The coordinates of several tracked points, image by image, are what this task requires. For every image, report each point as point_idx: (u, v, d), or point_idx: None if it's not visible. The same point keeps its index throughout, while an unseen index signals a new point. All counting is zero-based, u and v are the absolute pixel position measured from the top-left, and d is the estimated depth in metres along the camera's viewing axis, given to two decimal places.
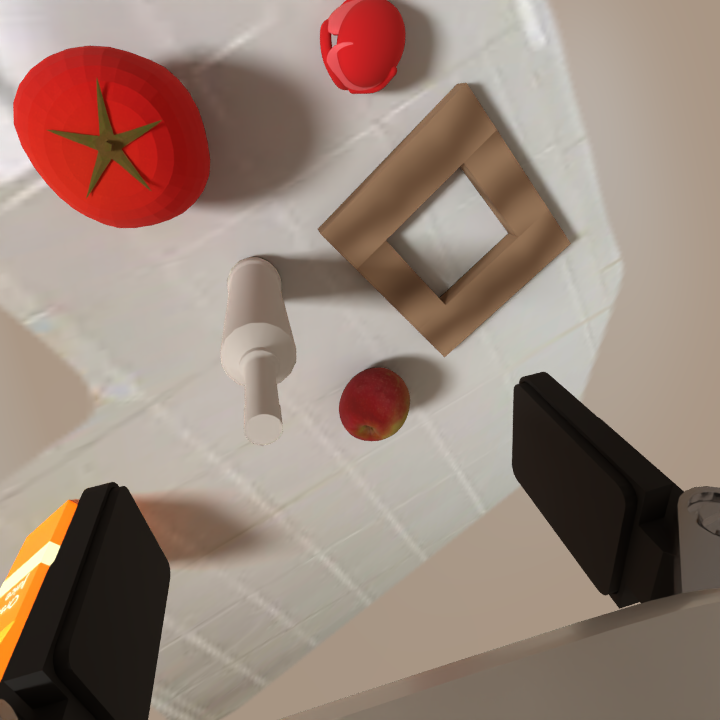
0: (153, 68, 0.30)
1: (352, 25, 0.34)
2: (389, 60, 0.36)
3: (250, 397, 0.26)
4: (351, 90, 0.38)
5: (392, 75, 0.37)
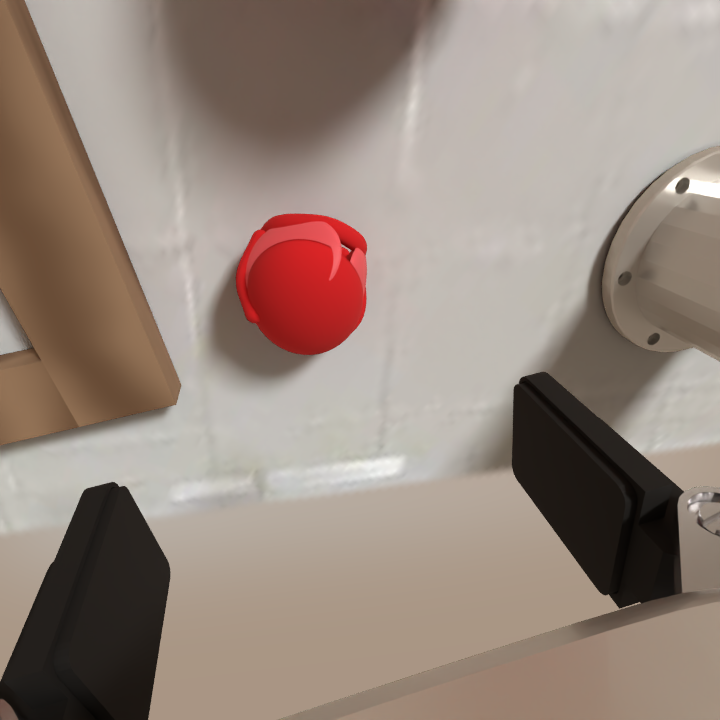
0: None
1: (349, 290, 0.20)
2: (272, 320, 0.20)
3: None
4: (259, 234, 0.21)
5: (247, 312, 0.21)
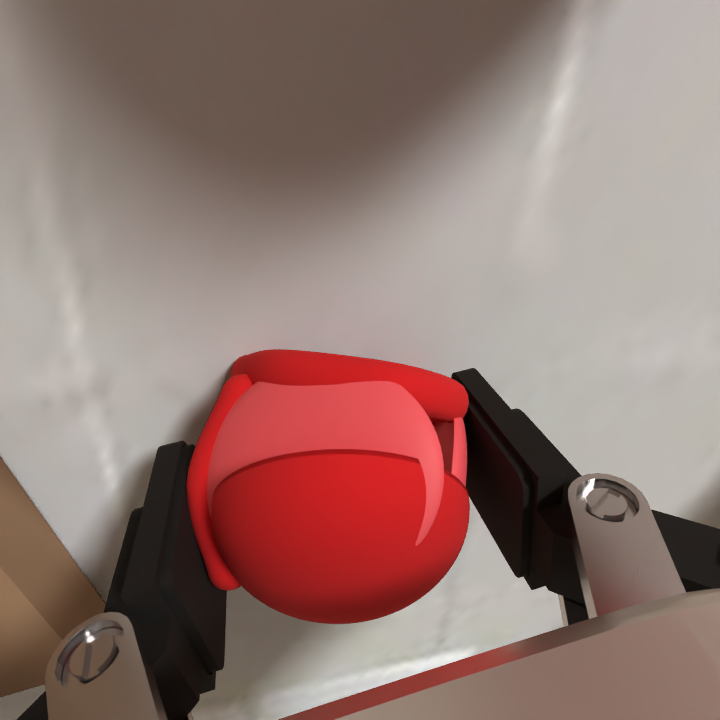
0: None
1: (453, 542, 0.08)
2: (269, 602, 0.09)
3: None
4: (238, 390, 0.09)
5: (212, 574, 0.09)
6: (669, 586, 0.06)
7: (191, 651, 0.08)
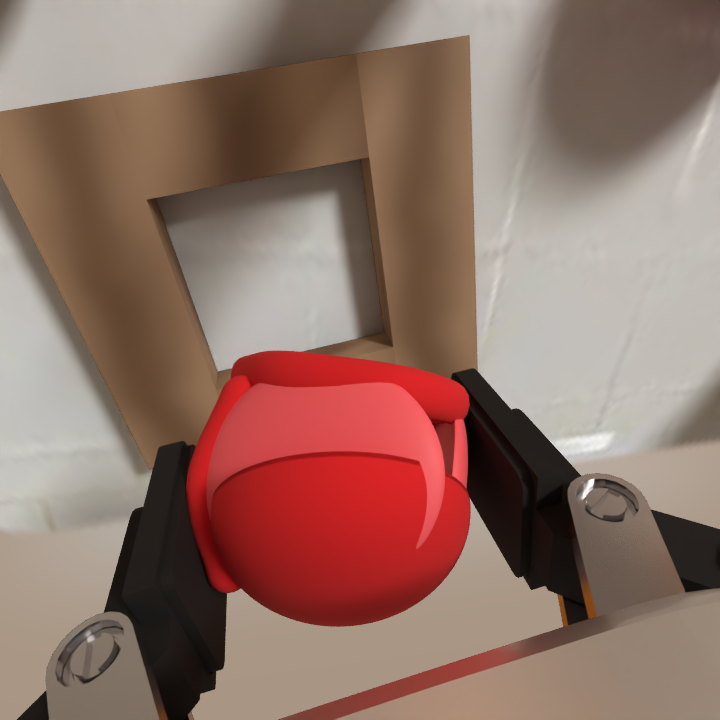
0: None
1: (454, 544, 0.08)
2: (269, 605, 0.09)
3: None
4: (237, 391, 0.09)
5: (212, 576, 0.09)
6: (669, 586, 0.06)
7: (192, 650, 0.08)
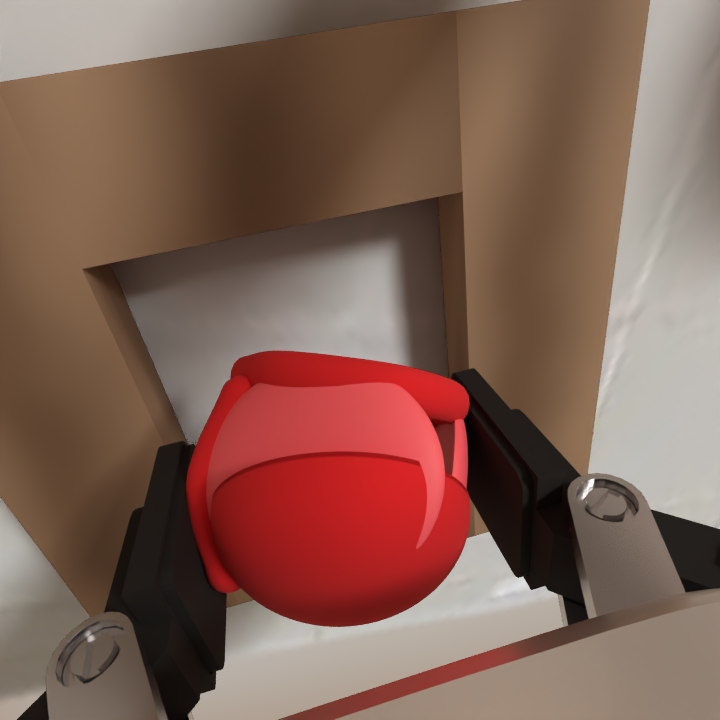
0: None
1: (454, 544, 0.08)
2: (269, 605, 0.09)
3: None
4: (237, 391, 0.09)
5: (212, 577, 0.09)
6: (668, 586, 0.06)
7: (191, 650, 0.08)
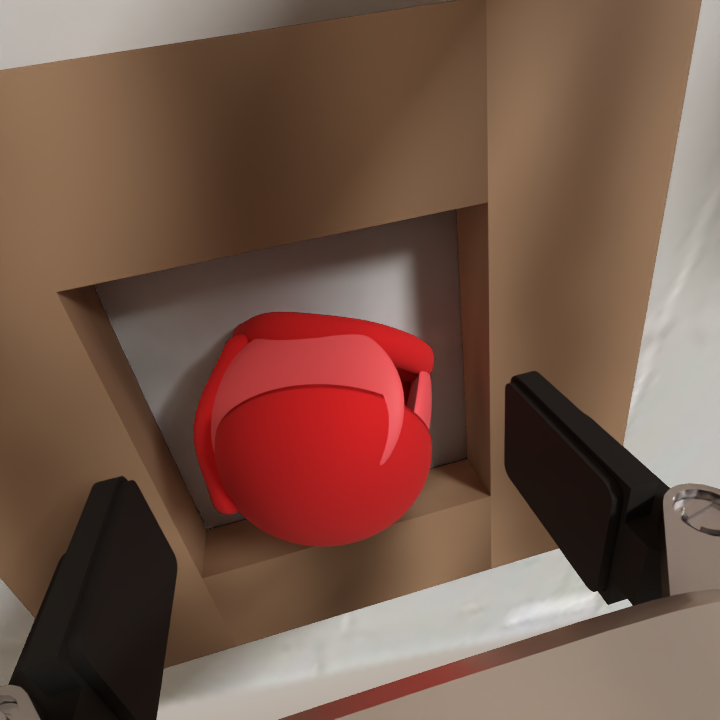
0: None
1: (415, 469, 0.10)
2: (262, 520, 0.10)
3: None
4: (237, 347, 0.11)
5: (215, 499, 0.11)
6: None
7: (110, 719, 0.07)
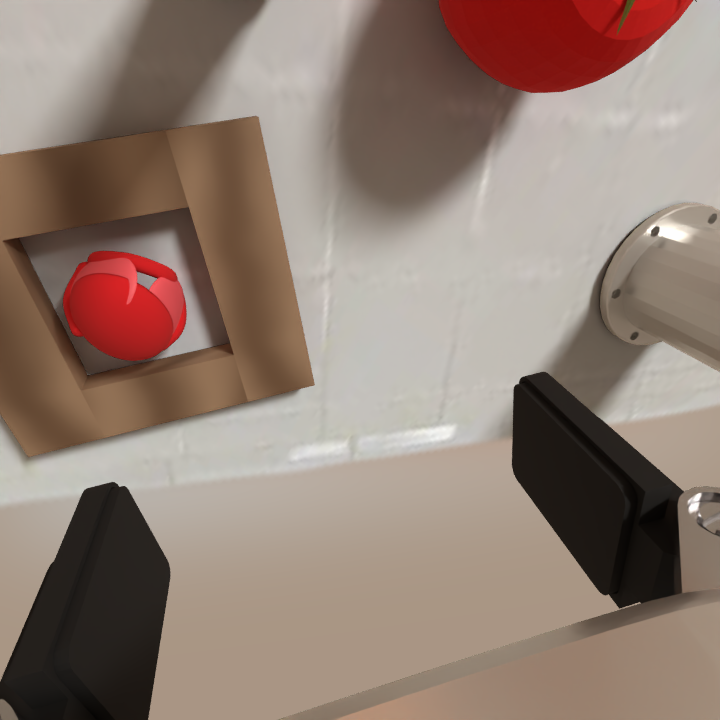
0: (603, 77, 0.23)
1: (148, 311, 0.26)
2: (89, 334, 0.26)
3: None
4: (82, 266, 0.27)
5: (71, 328, 0.26)
6: None
7: None
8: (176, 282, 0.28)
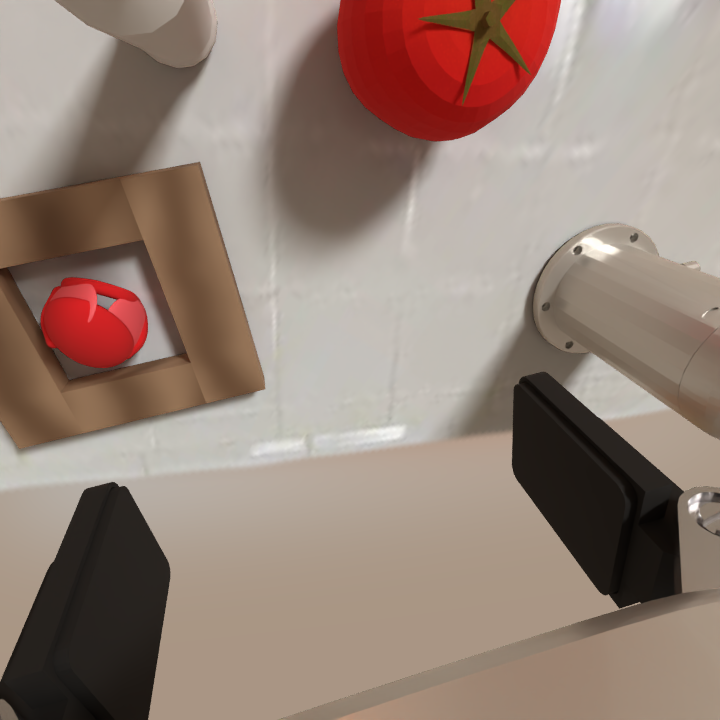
0: None
1: (107, 327, 0.31)
2: (60, 346, 0.32)
3: None
4: (56, 290, 0.32)
5: (46, 341, 0.32)
6: None
7: None
8: (136, 302, 0.34)
